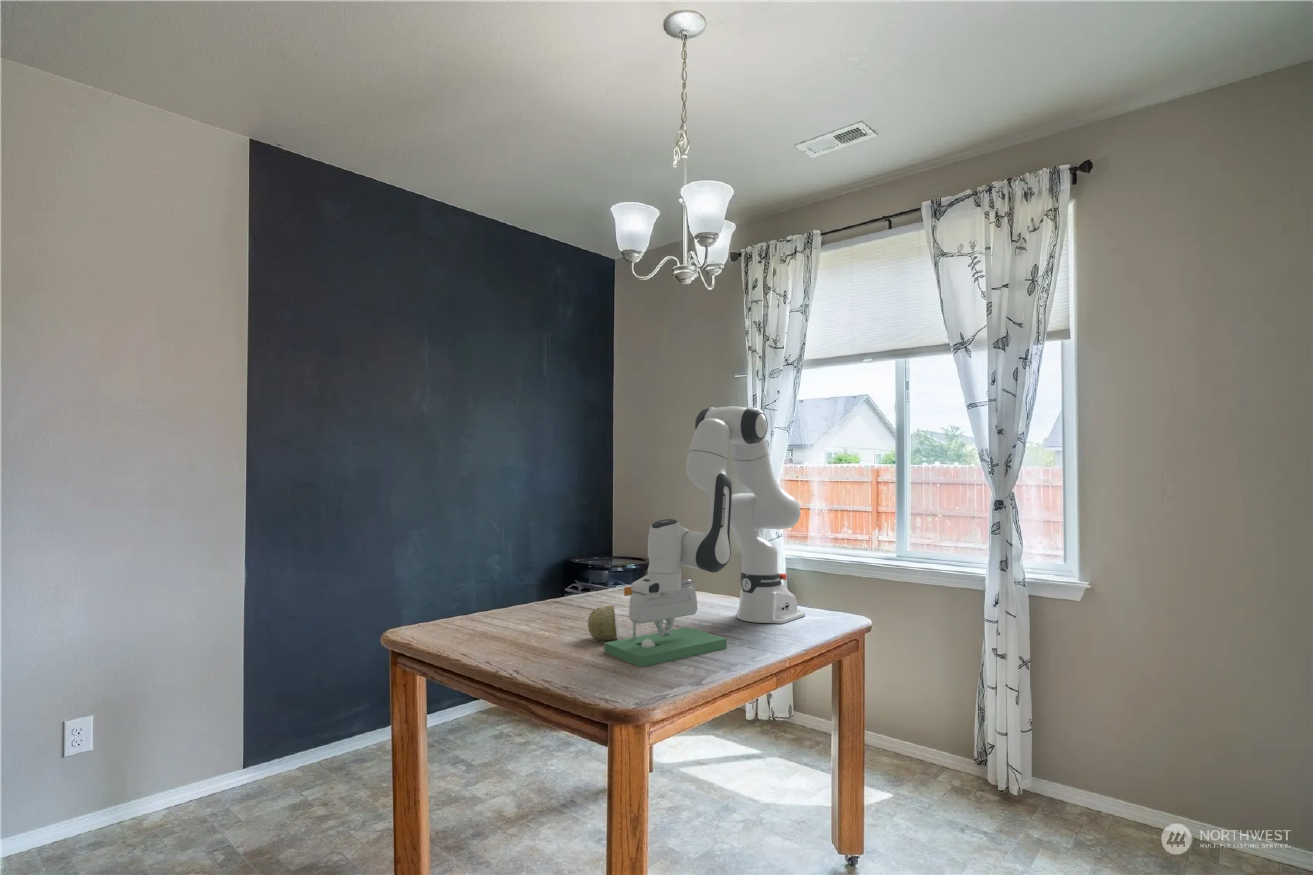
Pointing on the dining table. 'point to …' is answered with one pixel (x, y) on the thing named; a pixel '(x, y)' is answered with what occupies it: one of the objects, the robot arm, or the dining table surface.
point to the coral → (603, 624)
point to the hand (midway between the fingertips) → (664, 636)
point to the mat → (663, 645)
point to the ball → (647, 643)
